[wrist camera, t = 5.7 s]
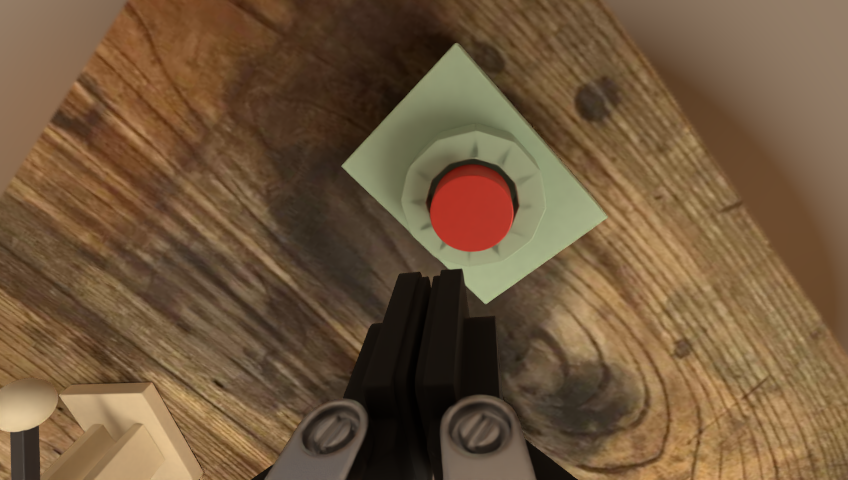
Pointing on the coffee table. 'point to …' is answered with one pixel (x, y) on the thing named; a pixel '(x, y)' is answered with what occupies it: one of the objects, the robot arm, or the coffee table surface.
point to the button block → (473, 144)
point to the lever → (26, 422)
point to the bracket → (123, 436)
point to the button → (472, 208)
